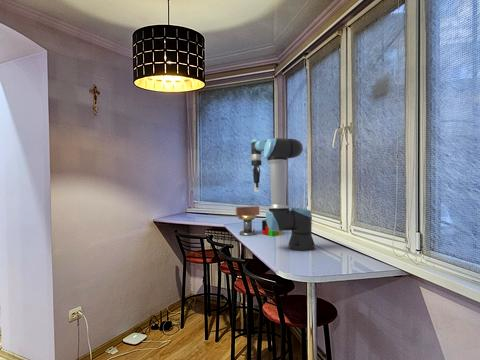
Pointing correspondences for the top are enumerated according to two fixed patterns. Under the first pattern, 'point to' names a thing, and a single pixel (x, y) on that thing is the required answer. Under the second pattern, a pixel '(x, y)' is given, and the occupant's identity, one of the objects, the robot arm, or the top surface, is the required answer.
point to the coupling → (247, 212)
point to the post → (247, 229)
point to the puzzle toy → (267, 231)
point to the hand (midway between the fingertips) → (256, 191)
